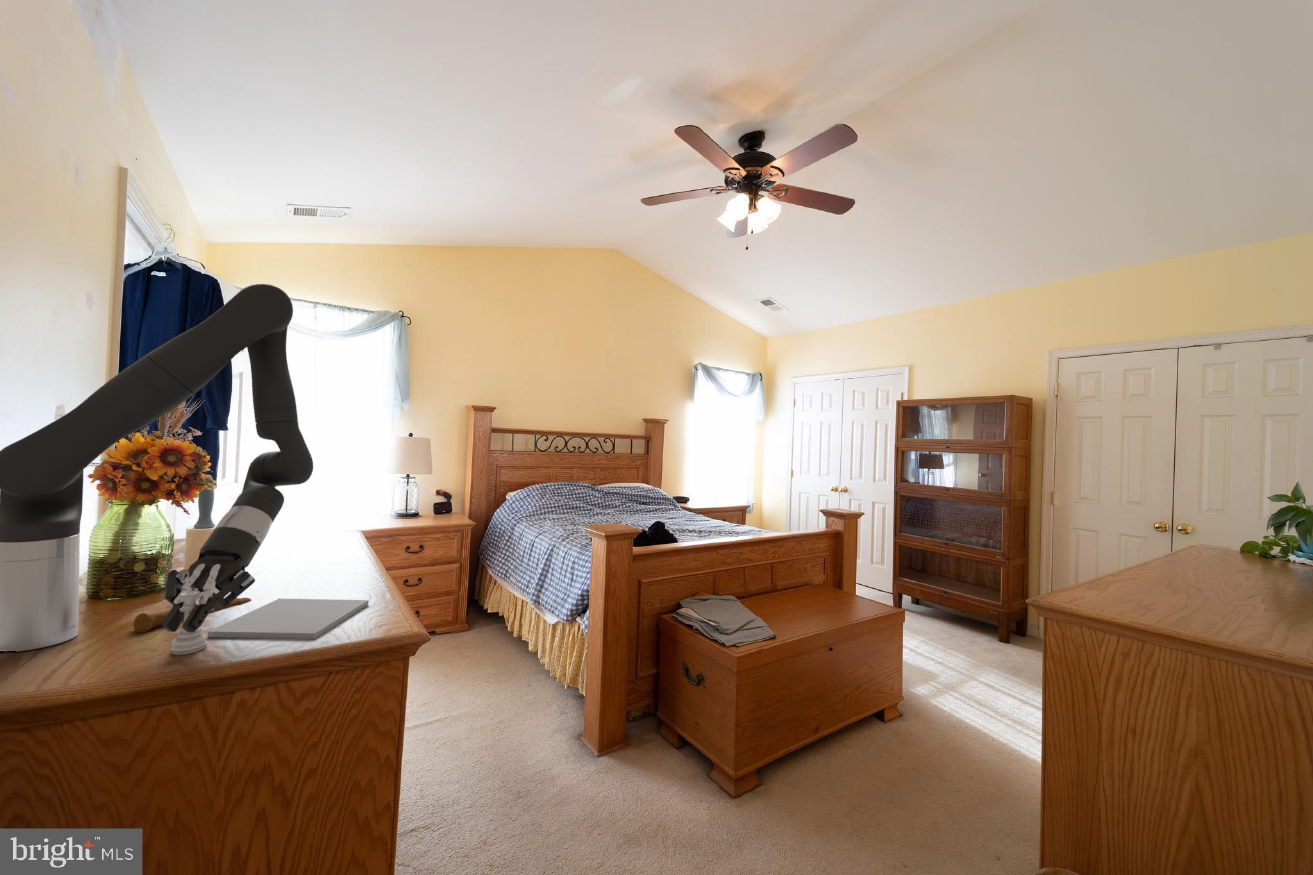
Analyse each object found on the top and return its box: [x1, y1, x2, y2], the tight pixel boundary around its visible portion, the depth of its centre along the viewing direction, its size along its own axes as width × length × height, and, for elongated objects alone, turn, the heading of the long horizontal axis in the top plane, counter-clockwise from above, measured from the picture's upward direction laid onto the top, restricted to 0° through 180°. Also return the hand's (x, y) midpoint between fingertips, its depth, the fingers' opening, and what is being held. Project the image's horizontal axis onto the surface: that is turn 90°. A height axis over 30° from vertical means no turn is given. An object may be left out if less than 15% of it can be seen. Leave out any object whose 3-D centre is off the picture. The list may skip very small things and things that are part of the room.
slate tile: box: [207, 598, 369, 640], centre depth 101 cm, size 18×18×1 cm
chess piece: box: [170, 588, 208, 656], centre depth 87 cm, size 4×4×10 cm
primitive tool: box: [132, 597, 252, 633], centre depth 102 cm, size 19×6×4 cm, turn 171°
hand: (178, 629), depth 84 cm, fingers closed on chess piece, 2 cm apart
